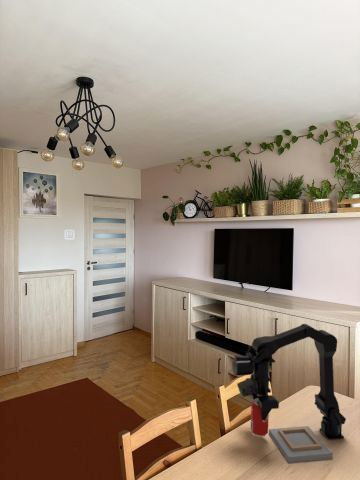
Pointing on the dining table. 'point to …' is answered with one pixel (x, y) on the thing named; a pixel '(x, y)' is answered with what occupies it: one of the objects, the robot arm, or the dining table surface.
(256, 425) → the beverage can
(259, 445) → the dining table surface
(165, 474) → the dining table surface
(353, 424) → the dining table surface
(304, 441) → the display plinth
